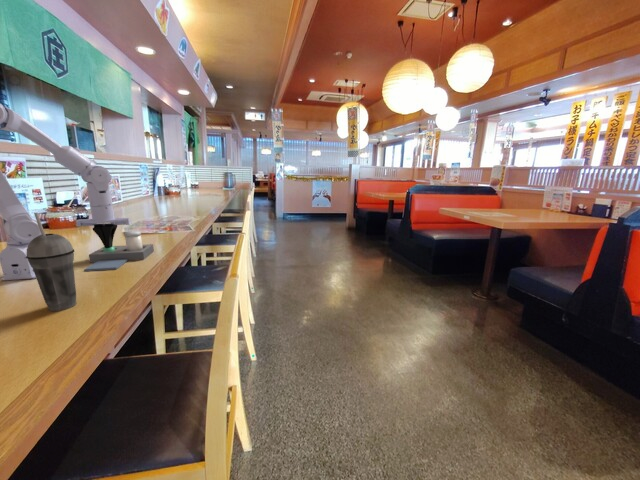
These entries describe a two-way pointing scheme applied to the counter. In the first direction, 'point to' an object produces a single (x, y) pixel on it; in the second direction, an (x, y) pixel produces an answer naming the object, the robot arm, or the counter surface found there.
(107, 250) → the release button
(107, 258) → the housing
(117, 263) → the mat
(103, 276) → the counter surface
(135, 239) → the cylinder
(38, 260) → the beverage cup
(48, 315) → the counter surface
